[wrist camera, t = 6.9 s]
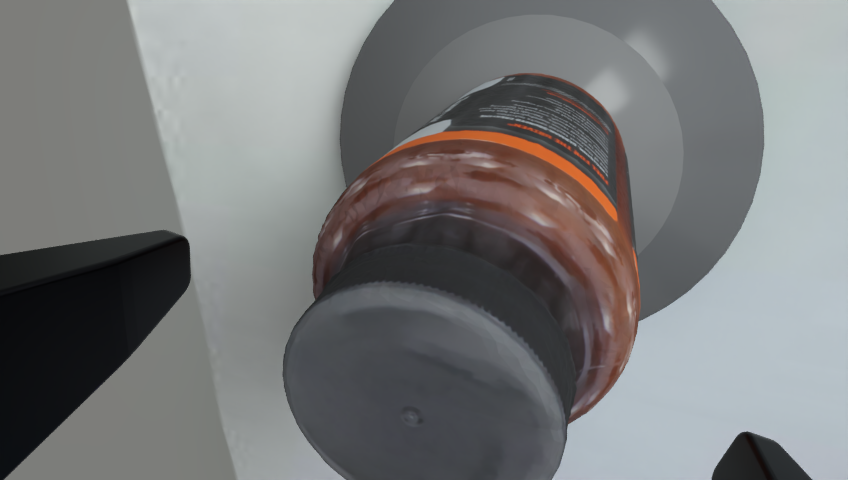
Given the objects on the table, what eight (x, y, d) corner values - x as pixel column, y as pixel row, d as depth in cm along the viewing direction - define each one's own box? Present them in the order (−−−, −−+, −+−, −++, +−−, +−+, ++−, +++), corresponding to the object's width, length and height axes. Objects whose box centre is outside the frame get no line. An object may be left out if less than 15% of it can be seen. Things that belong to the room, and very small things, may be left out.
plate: (652, 370, 20) (654, 389, 19) (335, 262, 22) (323, 274, 21) (852, -11, 13) (870, -11, 12) (379, -104, 16) (364, -110, 15)
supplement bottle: (430, 71, 16) (168, 187, 7) (637, 65, 15) (696, 213, 5) (440, 246, 19) (258, 522, 9) (618, 259, 17) (632, 622, 7)
